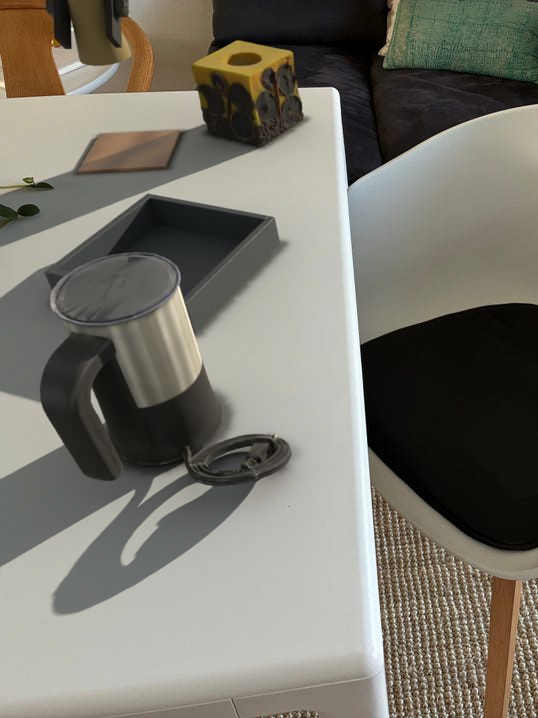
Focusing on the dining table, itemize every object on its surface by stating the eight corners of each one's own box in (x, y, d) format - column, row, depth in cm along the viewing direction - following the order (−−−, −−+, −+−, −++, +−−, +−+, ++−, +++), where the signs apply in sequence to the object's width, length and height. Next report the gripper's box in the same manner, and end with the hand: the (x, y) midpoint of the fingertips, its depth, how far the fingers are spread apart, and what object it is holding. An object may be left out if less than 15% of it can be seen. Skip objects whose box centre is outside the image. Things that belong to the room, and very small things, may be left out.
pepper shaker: (94, 69, 93) (61, -30, 85) (70, 57, 96) (36, -41, 88) (140, 56, 96) (112, -42, 89) (116, 44, 99) (87, -51, 92)
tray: (57, 302, 80) (43, 271, 77) (156, 221, 92) (147, 193, 89) (195, 334, 76) (185, 303, 73) (281, 246, 88) (275, 216, 85)
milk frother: (128, 391, 70) (70, 252, 60) (305, 382, 71) (277, 243, 61) (79, 520, 59) (-2, 376, 49) (288, 507, 60) (249, 363, 50)
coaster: (78, 173, 101) (77, 170, 101) (100, 136, 109) (99, 133, 109) (165, 168, 102) (165, 166, 101) (180, 132, 110) (180, 129, 110)
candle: (251, 107, 116) (237, 38, 110) (306, 119, 113) (295, 50, 106) (205, 134, 109) (187, 63, 103) (262, 148, 106) (248, 75, 99)
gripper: (171, -126, 97) (178, 55, 95) (21, -124, 96) (25, 59, 94) (149, -171, 89) (156, 25, 88) (-14, -169, 88) (-10, 29, 87)
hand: (88, 42), depth 91 cm, fingers closed on pepper shaker, 5 cm apart
